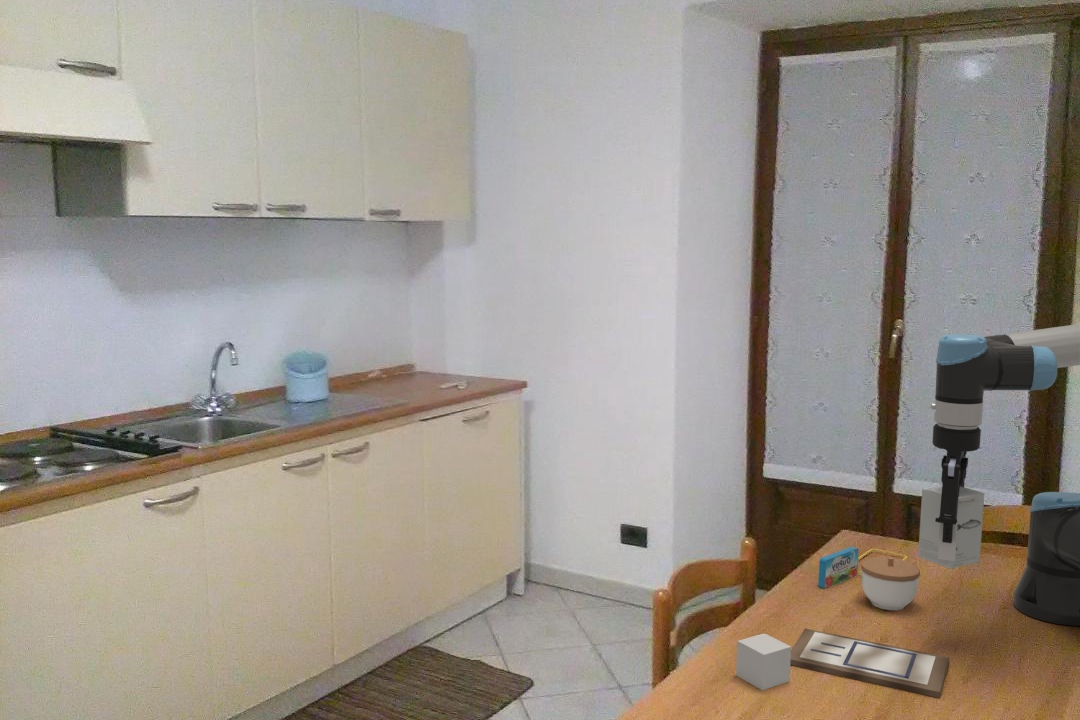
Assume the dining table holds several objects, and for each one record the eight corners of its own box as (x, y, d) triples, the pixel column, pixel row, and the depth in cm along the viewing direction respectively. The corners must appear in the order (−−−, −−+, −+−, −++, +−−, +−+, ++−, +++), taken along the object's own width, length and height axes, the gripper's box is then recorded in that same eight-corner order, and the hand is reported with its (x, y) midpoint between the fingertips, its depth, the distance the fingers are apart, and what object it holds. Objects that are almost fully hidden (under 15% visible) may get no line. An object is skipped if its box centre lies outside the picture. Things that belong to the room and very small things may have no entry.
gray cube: (735, 675, 158) (737, 640, 157) (762, 667, 161) (764, 633, 160) (762, 690, 153) (764, 654, 152) (789, 682, 156) (791, 646, 155)
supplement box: (951, 570, 164) (956, 498, 162) (916, 557, 170) (920, 487, 169) (981, 563, 167) (986, 492, 166) (945, 550, 174) (949, 482, 172)
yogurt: (824, 589, 196) (826, 560, 195) (818, 587, 197) (819, 558, 196) (857, 576, 204) (858, 548, 203) (850, 574, 205) (852, 546, 204)
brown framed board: (948, 663, 163) (949, 655, 163) (939, 698, 151) (940, 690, 151) (804, 633, 174) (805, 626, 174) (785, 663, 162) (785, 656, 162)
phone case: (908, 561, 214) (908, 555, 214) (881, 582, 201) (881, 576, 201) (871, 553, 219) (872, 547, 219) (842, 573, 206) (843, 567, 206)
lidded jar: (908, 595, 193) (911, 550, 192) (924, 616, 183) (927, 569, 181) (853, 592, 194) (856, 547, 193) (866, 613, 184) (869, 566, 182)
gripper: (940, 411, 177) (933, 529, 180) (925, 435, 158) (918, 566, 161) (985, 415, 174) (977, 535, 177) (976, 440, 154) (967, 574, 157)
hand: (949, 550), depth 169 cm, fingers closed on supplement box, 10 cm apart
